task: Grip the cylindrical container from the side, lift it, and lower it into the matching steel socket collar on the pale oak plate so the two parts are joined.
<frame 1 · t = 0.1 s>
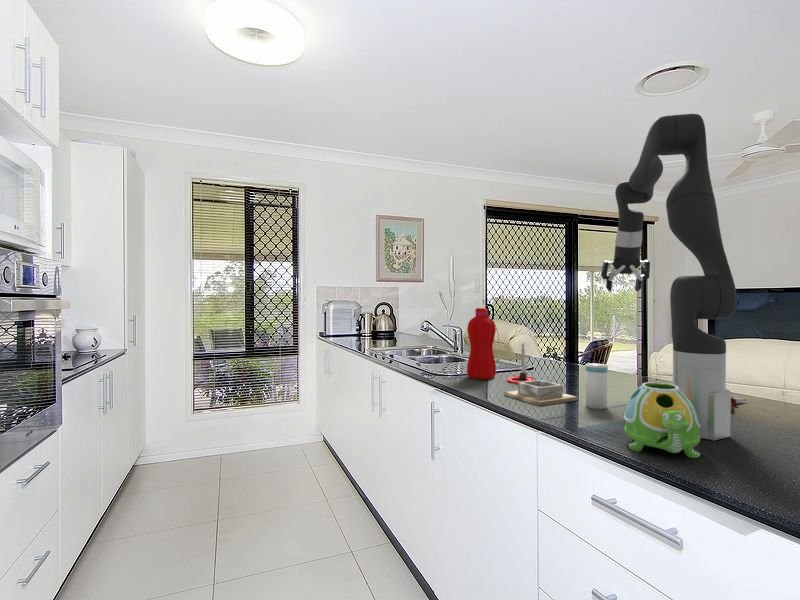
hand: (623, 290, 146), 31 cm above the counter, tool tilted 20°, fingers open, 8 cm apart
socket coupling: (539, 397, 123), on the counter
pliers: (722, 409, 113), on the counter
turtle holder: (663, 451, 80), on the counter
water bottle: (483, 378, 154), on the counter
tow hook: (520, 382, 147), on the counter
cylindrical container: (596, 406, 113), on the counter
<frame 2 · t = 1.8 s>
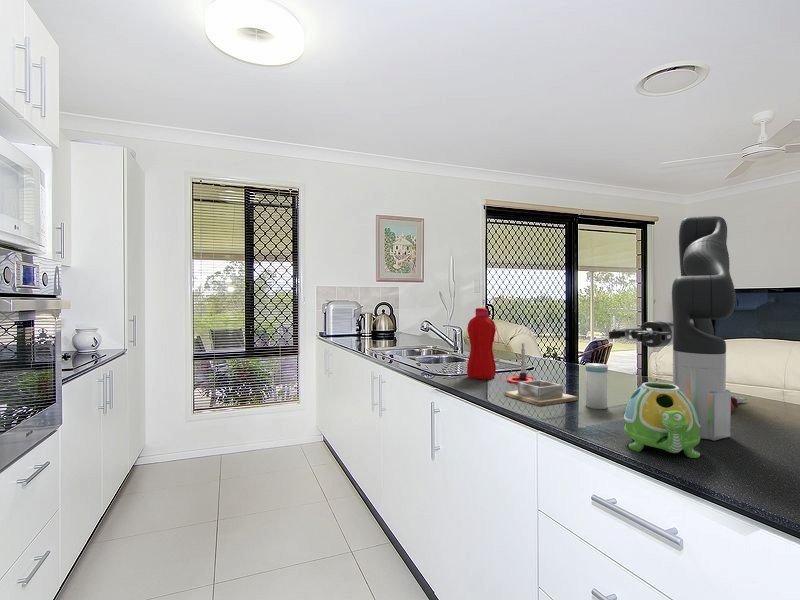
hand: (623, 336, 118), 18 cm above the counter, tool horizontal, fingers open, 8 cm apart
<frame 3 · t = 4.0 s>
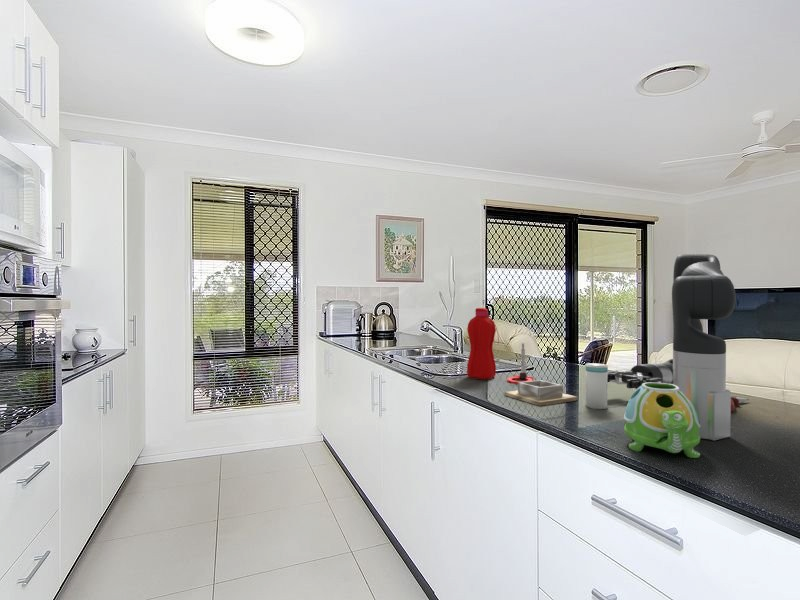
hand: (613, 381, 116), 6 cm above the counter, tool horizontal, fingers open, 8 cm apart
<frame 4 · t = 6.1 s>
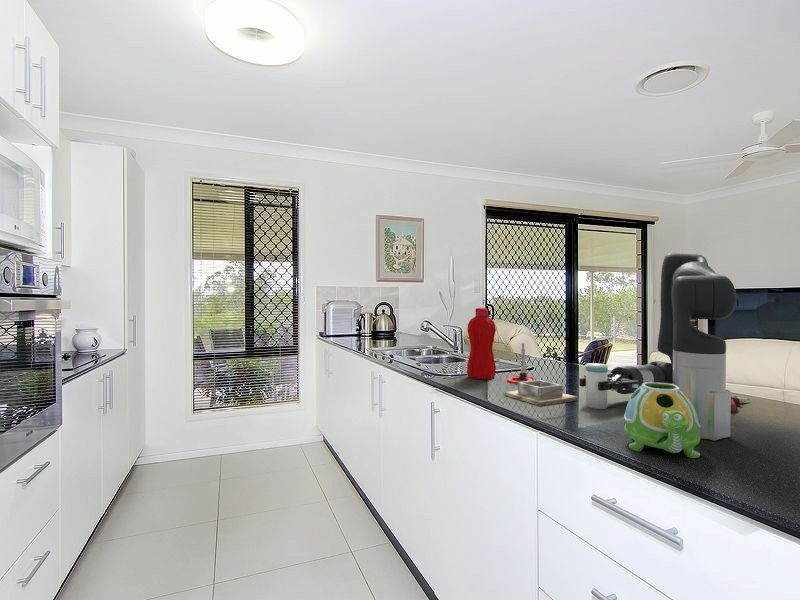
hand: (589, 384, 112), 6 cm above the counter, tool horizontal, fingers closed on cylindrical container, 5 cm apart
cylindrical container: (596, 406, 113), on the counter, touching gripper
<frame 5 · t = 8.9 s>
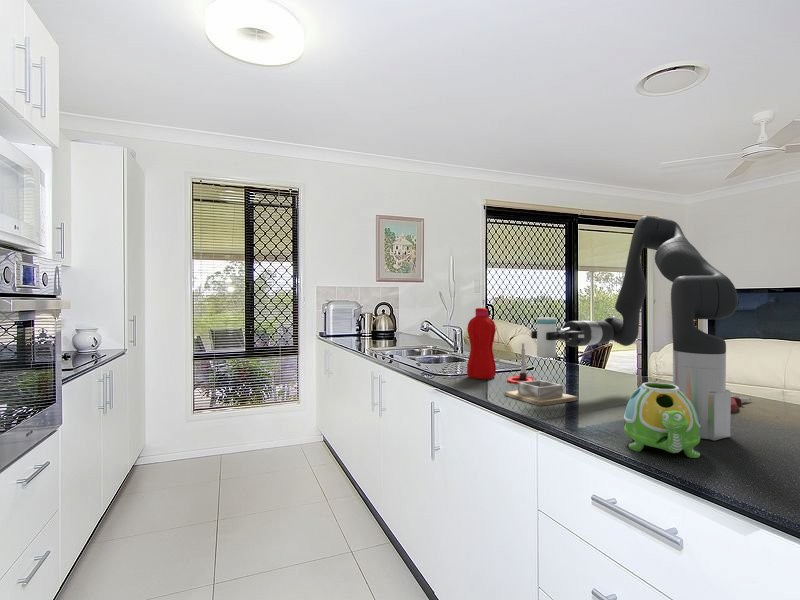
hand: (539, 335, 121), 18 cm above the counter, tool horizontal, fingers closed on cylindrical container, 5 cm apart
cylindrical container: (546, 356, 122), point 12 cm above the counter, touching gripper
when the fingers open (9 cm above the counter, at t = 11.7 s): cylindrical container drops 2 cm, resting on socket coupling.
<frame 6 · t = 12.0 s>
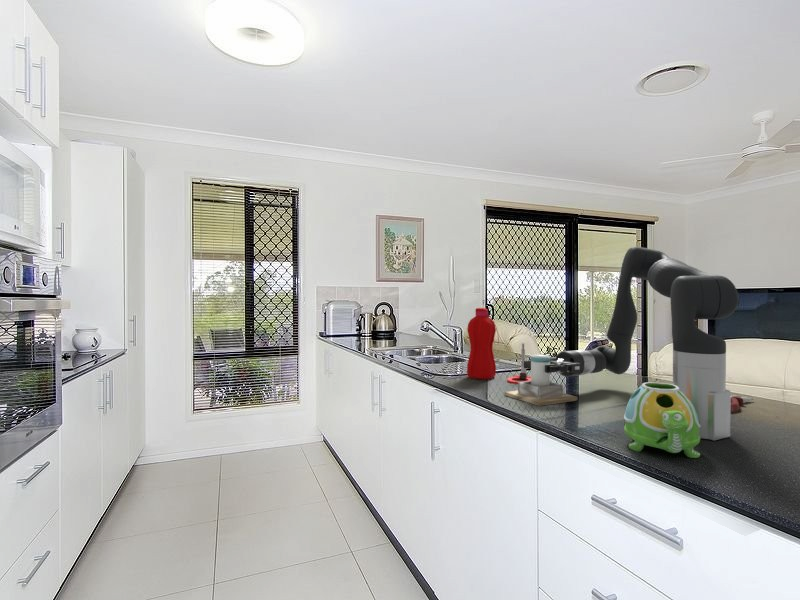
hand: (534, 366, 122), 9 cm above the counter, tool horizontal, fingers open, 8 cm apart
cylindrical container: (540, 394, 123), point 1 cm above the counter, touching socket coupling
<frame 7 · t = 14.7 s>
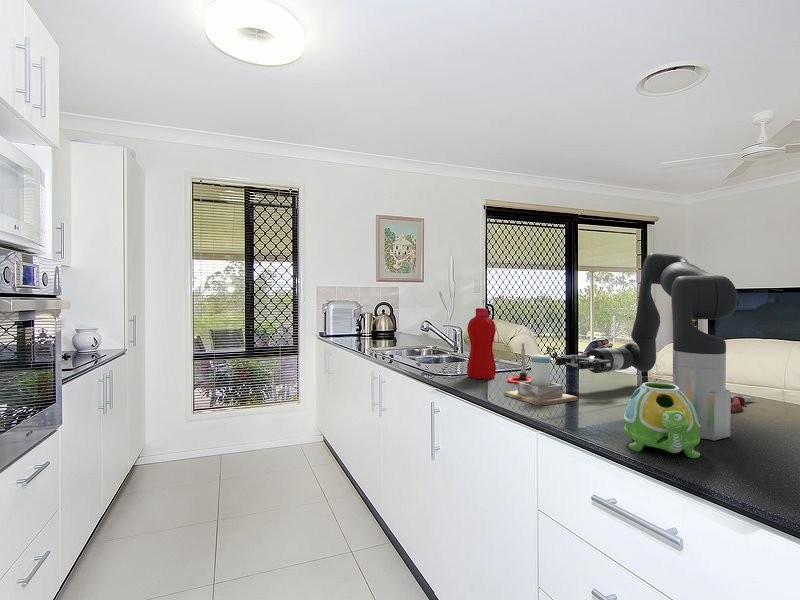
hand: (567, 363, 128), 9 cm above the counter, tool horizontal, fingers open, 8 cm apart
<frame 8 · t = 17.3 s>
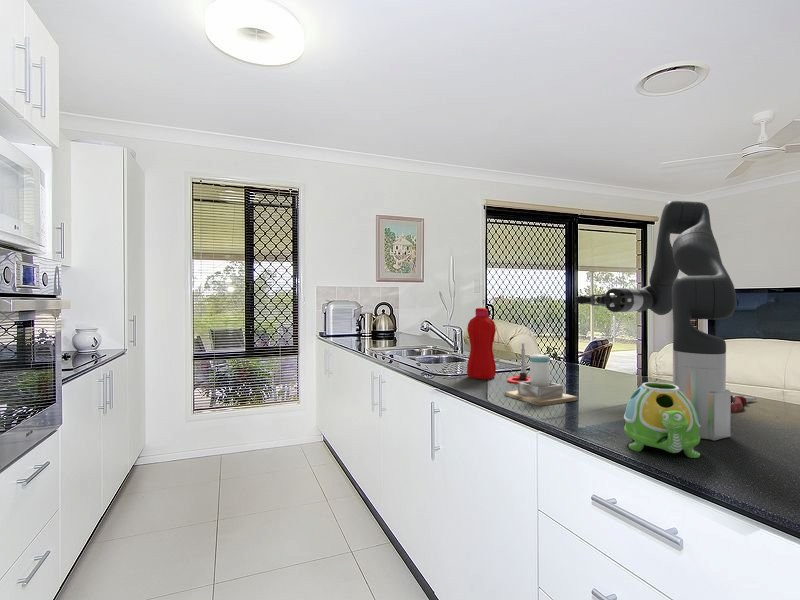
hand: (588, 300, 127), 28 cm above the counter, tool horizontal, fingers open, 8 cm apart
at the end: cylindrical container 0.1 cm off-centre on the socket coupling, point 1.1 cm above the socket coupling's base; cylindrical container tilted 1°; the gripper is holding nothing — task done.
